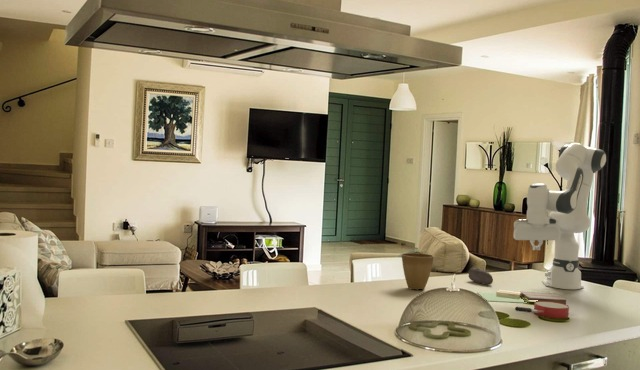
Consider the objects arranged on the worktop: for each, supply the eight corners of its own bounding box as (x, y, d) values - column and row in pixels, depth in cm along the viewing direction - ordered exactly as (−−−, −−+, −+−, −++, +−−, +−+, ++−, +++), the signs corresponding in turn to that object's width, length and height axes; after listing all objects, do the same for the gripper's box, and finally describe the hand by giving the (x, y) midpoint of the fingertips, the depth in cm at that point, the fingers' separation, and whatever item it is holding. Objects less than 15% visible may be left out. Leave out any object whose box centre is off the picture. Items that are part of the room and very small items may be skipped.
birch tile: (498, 293, 286) (498, 289, 286) (520, 296, 282) (521, 292, 282) (496, 295, 281) (496, 291, 281) (519, 298, 277) (519, 294, 277)
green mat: (477, 292, 288) (477, 292, 288) (517, 294, 287) (517, 294, 287) (486, 301, 270) (486, 300, 270) (529, 303, 269) (529, 302, 269)
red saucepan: (539, 328, 225) (540, 311, 225) (505, 321, 234) (506, 304, 234) (573, 316, 249) (574, 300, 249) (542, 310, 258) (542, 294, 257)
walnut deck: (519, 295, 285) (519, 291, 285) (554, 297, 285) (555, 293, 285) (529, 302, 271) (529, 297, 271) (566, 304, 271) (566, 299, 271)
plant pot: (438, 289, 291) (439, 255, 290) (421, 293, 280) (422, 258, 279) (411, 284, 301) (412, 251, 300) (393, 288, 290) (395, 253, 289)
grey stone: (495, 286, 308) (496, 272, 308) (487, 286, 306) (488, 272, 305) (475, 280, 321) (475, 267, 321) (467, 280, 319) (468, 267, 319)
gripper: (515, 220, 277) (515, 250, 277) (562, 220, 276) (561, 251, 277) (511, 218, 283) (511, 248, 283) (556, 219, 283) (556, 249, 283)
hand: (536, 250), depth 280 cm, fingers closed
